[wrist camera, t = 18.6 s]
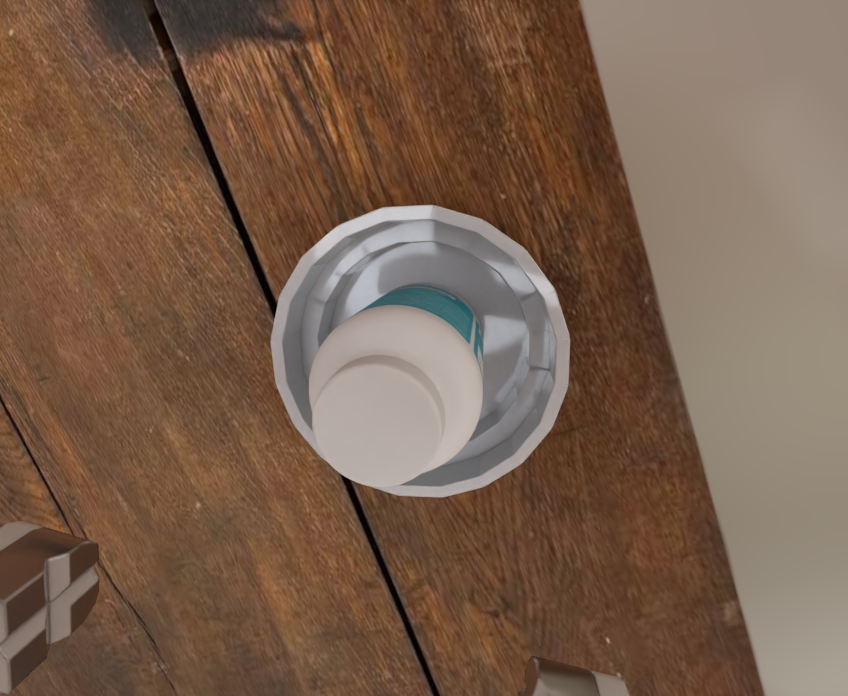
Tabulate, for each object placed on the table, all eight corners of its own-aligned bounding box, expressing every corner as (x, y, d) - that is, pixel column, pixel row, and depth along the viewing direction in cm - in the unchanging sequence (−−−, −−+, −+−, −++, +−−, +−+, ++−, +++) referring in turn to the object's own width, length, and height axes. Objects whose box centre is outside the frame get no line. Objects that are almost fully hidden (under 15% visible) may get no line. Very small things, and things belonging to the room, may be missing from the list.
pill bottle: (344, 321, 29) (231, 390, 16) (441, 257, 28) (401, 277, 15) (408, 416, 30) (350, 552, 17) (507, 360, 29) (523, 465, 16)
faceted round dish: (508, 170, 27) (514, 154, 21) (585, 416, 29) (606, 455, 24) (271, 264, 30) (225, 270, 25) (361, 478, 33) (336, 525, 27)
